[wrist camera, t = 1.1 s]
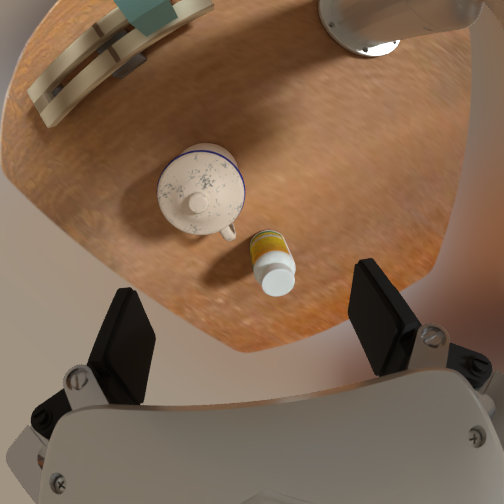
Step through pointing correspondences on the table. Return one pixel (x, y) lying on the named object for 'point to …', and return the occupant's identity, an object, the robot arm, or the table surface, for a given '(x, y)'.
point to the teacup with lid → (202, 191)
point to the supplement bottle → (272, 263)
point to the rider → (147, 14)
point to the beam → (101, 59)
